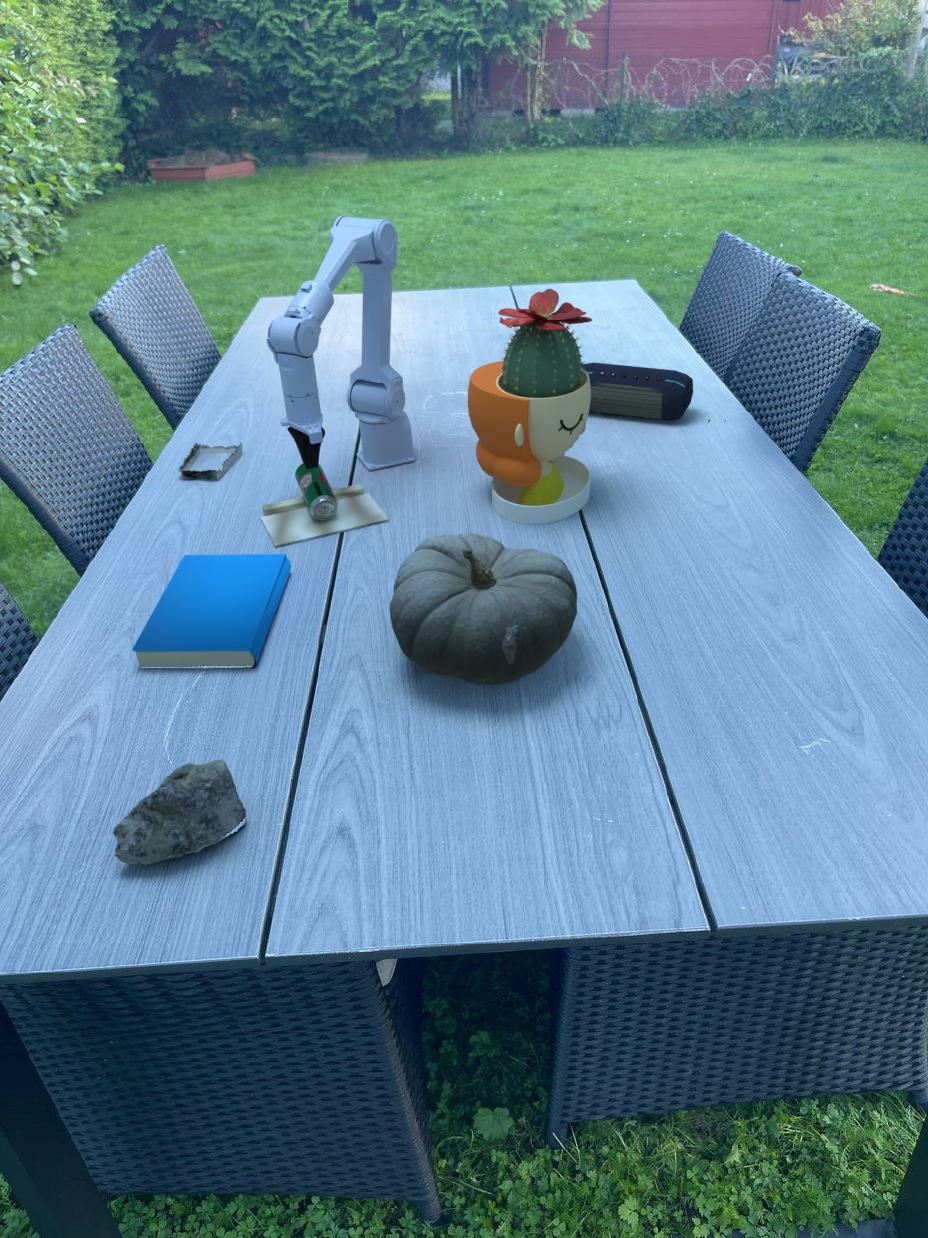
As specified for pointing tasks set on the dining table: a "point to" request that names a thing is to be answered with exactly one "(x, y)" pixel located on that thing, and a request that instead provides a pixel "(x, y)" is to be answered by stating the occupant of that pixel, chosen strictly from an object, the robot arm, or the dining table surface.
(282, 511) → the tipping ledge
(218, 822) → the mineral rock
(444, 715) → the dining table surface
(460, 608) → the gourd
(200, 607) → the book
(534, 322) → the potted cactus
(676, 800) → the dining table surface
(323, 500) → the soda can
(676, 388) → the portable speaker
